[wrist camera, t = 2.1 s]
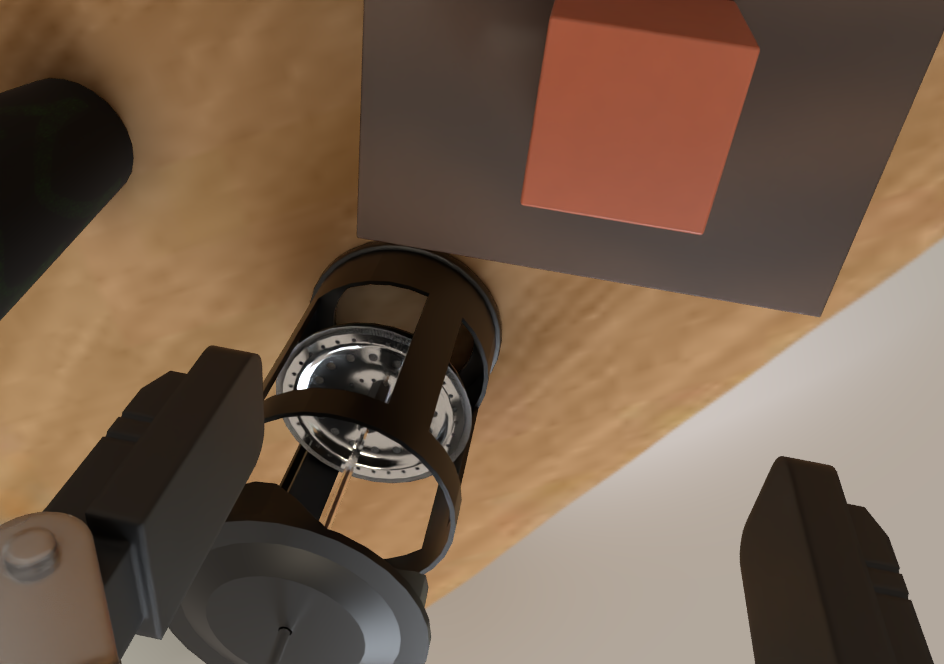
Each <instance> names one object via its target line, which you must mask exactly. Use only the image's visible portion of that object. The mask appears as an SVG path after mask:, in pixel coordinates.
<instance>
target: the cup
mask: <svg viewBox="0 0 944 664" xmlns="http://www.w3.org/2000/svg"><path fill="white" fill-rule="evenodd" d="M133 159H134V158H133V150H132V144H131V141H130V138H129V135H128V132H127V130H126V128H125V126H124V125H123V123H122V121H121V120H120V118H119V116H118V115H117V114H116V113H115V111H114V110H113V109H112V108H111V107H110V106H109V104H108V103H107V102H105V101H104V100H103V99H102V98H101V97H99V96H98V95H97V94H96V93H94V92H93V91H91V90H89V89H87V88H86V87H84V86H82V85H80V84H78V83H75V82H71V81H68V80H65V79H52V78H48V79H44V80H39V81H35V82H32V83H29V84H26V85H23V86H20V87H17V88H14V89H11V90H8V91H5V92H2V93H0V320H1V319H2V318H3V317H4V316H5V315H6V314H7V313H8V312H9V311H10V309H11V308H12V307H13V306H14V305H15V304H16V303H17V302H18V301H19V300H20V298H21V297H22V296H23V295H24V294H25V293H26V292H27V291H28V290H29V289H30V287H31V286H32V285H33V284H34V283H35V282H36V281H37V280H38V279H39V278H40V277H41V275H42V274H43V273H44V272H45V271H46V270H47V269H48V268H49V267H50V266H51V264H52V263H53V262H54V261H55V260H56V259H57V258H58V257H59V256H60V255H61V254H62V252H63V251H64V250H65V249H66V248H67V247H68V246H69V245H70V244H71V243H72V241H73V240H74V239H75V238H76V237H77V236H78V235H79V234H80V233H81V232H82V231H83V229H84V228H85V227H86V226H87V225H88V224H89V223H90V222H91V221H92V220H93V218H94V217H95V216H96V215H97V214H98V213H99V212H100V211H101V210H102V209H103V207H104V206H105V205H106V204H107V203H108V202H109V201H110V200H111V199H112V198H113V197H114V195H115V194H116V193H117V192H118V191H119V190H120V189H121V188H122V187H123V186H124V184H125V183H126V182H127V180H128V178H129V176H130V174H131V172H132V166H133Z"/></svg>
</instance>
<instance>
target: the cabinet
mask: <svg viewBox="0 0 944 664" xmlns="http://www.w3.org/2000/svg"><path fill="white" fill-rule="evenodd" d="M554 1H555V0H364V16H363V49H362V81H361V114H360V146H359V179H358V211H357V237H358V238H363V239H369V240H374V241H380V242H386V243H392V244H398V245H403V246H409V247H415V248H421V249H427V250H432V251H438V252H444V253H450V254H456V255H462V256H467V257H473V258H479V259H485V260H491V261H496V262H502V263H508V264H514V265H520V266H525V267H531V268H537V269H543V270H549V271H554V272H560V273H566V274H572V275H578V276H584V277H589V278H595V279H601V280H607V281H613V282H618V283H624V284H630V285H636V286H642V287H647V288H653V289H659V290H665V291H671V292H676V293H682V294H688V295H694V296H700V297H706V298H711V299H717V300H723V301H729V302H735V303H740V304H746V305H752V306H758V307H764V308H769V309H775V310H781V311H787V312H793V313H798V314H804V315H810V316H816V317H820V316H821V314H822V312H823V310H824V307H825V305H826V303H827V300H828V298H829V296H830V293H831V291H832V289H833V286H834V284H835V282H836V280H837V277H838V275H839V273H840V270H841V268H842V266H843V263H844V261H845V259H846V256H847V254H848V252H849V249H850V247H851V245H852V242H853V240H854V238H855V236H856V233H857V231H858V229H859V226H860V224H861V222H862V219H863V217H864V215H865V212H866V210H867V208H868V205H869V203H870V201H871V198H872V196H873V194H874V192H875V189H876V187H877V185H878V182H879V180H880V178H881V175H882V173H883V171H884V168H885V166H886V164H887V161H888V159H889V157H890V154H891V152H892V150H893V148H894V145H895V143H896V141H897V138H898V136H899V134H900V131H901V129H902V127H903V124H904V122H905V120H906V117H907V115H908V113H909V110H910V108H911V106H912V104H913V101H914V99H915V97H916V94H917V92H918V90H919V87H920V85H921V83H922V80H923V78H924V76H925V73H926V71H927V69H928V66H929V64H930V62H931V60H932V57H933V55H934V53H935V50H936V48H937V46H938V43H939V41H940V39H941V36H942V34H943V32H944V0H729V1H734V2H735V3H736V4H737V6H738V8H739V10H740V12H741V14H742V16H743V17H744V19H745V21H746V23H747V25H748V27H749V29H750V31H751V32H752V34H753V36H754V38H755V40H756V42H757V44H758V45H759V47H760V53H759V56H758V59H757V62H756V66H755V69H754V72H753V75H752V79H751V82H750V85H749V88H748V92H747V95H746V98H745V101H744V104H743V108H742V111H741V114H740V117H739V121H738V124H737V127H736V130H735V134H734V137H733V140H732V143H731V147H730V150H729V153H728V156H727V159H726V163H725V166H724V169H723V172H722V176H721V179H720V182H719V185H718V189H717V192H716V195H715V198H714V202H713V205H712V208H711V211H710V214H709V218H708V221H707V224H706V227H705V231H704V233H703V234H702V235H697V234H691V233H685V232H679V231H673V230H667V229H661V228H655V227H649V226H643V225H637V224H631V223H625V222H619V221H613V220H607V219H601V218H595V217H589V216H583V215H578V214H572V213H566V212H560V211H554V210H548V209H542V208H536V207H530V206H524V205H521V202H520V200H521V194H522V188H523V181H524V175H525V169H526V162H527V156H528V150H529V143H530V137H531V131H532V124H533V118H534V112H535V105H536V99H537V93H538V87H539V80H540V74H541V68H542V61H543V55H544V49H545V42H546V36H547V30H548V23H549V18H550V15H551V11H552V8H553V5H554Z"/></svg>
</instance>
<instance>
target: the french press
mask: <svg viewBox="0 0 944 664" xmlns="http://www.w3.org/2000/svg"><path fill="white" fill-rule="evenodd" d="M369 284H373V285H391V286H396V287H400V288H405V289H410V290H412V291H415V292H417V293H420V294H422V295H425V296H427V297H428V298H427V300H426V303H425V306H424V308H423V311H422V314H421V316H420V319H419V322H418V324H417V327H416V330H415V332H414V334H412V333H410V332H407V331H404V330H401V329H398V328H395V327H391V326H386V325H380V324H375V323H348V324H340V325H336V322H335V317H336V308H337V304H338V301H339V299H340V297H341V295H342V294H343V292H344V291H345V290H346V289H347V288H350V287H355V286H362V285H369ZM461 322H462V323H463V324H464V325H465V327H466V328H467V329H468V330H469V332H470V333H471V334H472V336H473V338H474V346H473V351H472V353H471V355H470V358H469V360H468V361H467V363H466V364H465V365H464V366H463V368H462V369H461V370H460V371H458V372H457V371H456V370H455V368H454V367H453V365H452V364H451V363H450V358H451V355H452V352H453V348H454V345H455V341H456V338H457V335H458V331H459V328H460V325H461ZM501 342H502V329H501V321H500V317H499V313H498V309H497V306H496V304H495V303H494V301H493V299H492V297H491V295H490V293H489V291H488V289H487V288H486V287H485V286H484V284H483V283H482V282H481V281H480V279H479V278H478V277H477V276H476V275H475V274H474V273H473V272H472V271H471V270H470V269H468V268H467V267H466V266H465V265H464V264H463V263H461V262H460V261H458V260H456V259H455V258H453V257H451V256H450V255H448V254H446V253H444V252H438V251H432V250H427V249H421V248H415V247H409V246H403V245H398V244H392V243H386V242H374V243H368V244H365V245H362V246H360V247H357V248H354V249H351V250H349V251H348V252H346V253H345V254H343V255H342V256H340V257H338V258H337V259H335V260H334V261H333V263H332V264H331V265H330V266H329V267H328V268H327V269H326V270H325V271H324V272H323V274H322V275H321V277H320V279H319V281H318V282H317V284H316V286H315V287H314V291H313V294H312V298H311V301H310V305H309V307H308V308H307V310H306V312H305V313H304V315H303V317H302V318H301V320H300V322H299V323H298V325H297V327H296V328H295V330H294V332H293V333H292V335H291V337H290V338H289V340H288V342H287V344H286V345H285V347H284V349H283V350H282V352H281V354H280V355H279V357H278V359H277V360H276V362H275V364H274V365H273V367H272V369H271V370H270V372H269V374H268V375H267V377H266V379H265V380H264V382H263V403H264V423H266V422H270V421H273V420H277V419H280V418H283V420H284V422H285V424H286V426H287V427H288V429H289V430H290V432H291V433H292V435H293V436H294V437H295V439H296V440H297V441H298V442H299V443H300V444H299V446H298V448H297V450H296V452H295V455H294V457H293V459H292V461H291V463H290V465H289V467H288V469H287V471H286V473H285V475H284V477H283V479H282V481H281V483H280V485H277V484H274V483H264V482H251V483H247V484H245V486H244V488H243V489H242V491H241V493H240V495H239V497H238V499H237V501H236V502H235V504H234V506H233V508H232V510H231V512H230V514H229V515H228V517H227V519H226V521H225V523H224V525H223V527H222V528H221V530H220V532H219V534H218V536H217V538H216V540H215V541H214V543H213V545H212V547H211V549H210V551H209V553H208V554H207V556H206V558H205V560H204V562H203V564H202V565H201V567H200V569H199V571H198V573H197V575H196V577H195V578H194V580H193V582H192V584H191V586H190V588H189V590H188V591H187V593H186V595H185V597H184V599H183V601H182V603H181V604H180V606H179V608H178V610H177V612H176V614H175V616H174V617H173V619H172V621H171V623H170V625H169V629H170V630H171V631H172V633H173V634H174V635H175V636H176V637H177V638H178V639H179V640H180V641H181V642H182V643H183V644H184V645H185V647H187V649H189V650H190V651H191V652H192V653H194V654H195V655H196V656H198V657H199V658H200V659H201V660H202V661H204V662H205V663H206V664H425V662H426V659H427V655H428V650H429V645H430V640H431V632H430V623H429V618H428V616H427V613H426V611H425V608H424V606H425V602H426V597H427V592H428V583H427V579H426V575H424V574H425V573H427V572H428V571H430V570H432V569H433V568H434V567H435V566H436V565H437V564H438V563H439V562H440V561H441V560H442V559H443V558H444V557H445V555H446V553H447V551H448V550H449V548H450V546H451V544H452V542H453V537H454V533H455V528H456V524H457V519H458V515H459V510H460V505H461V500H462V499H461V483H462V478H463V474H464V469H465V465H466V461H467V456H468V452H469V447H470V443H471V439H472V434H473V430H474V426H475V421H476V417H477V412H478V408H479V406H480V404H481V402H482V400H483V398H484V396H485V393H486V389H487V384H488V379H489V375H490V373H491V372H492V370H493V368H494V366H495V364H496V362H497V360H498V356H499V351H500V346H501ZM276 378H277V380H276ZM275 380H276V395H275V396H272V397H270V398H268V399H266V400H264V399H265V397H266V396H267V394H268V392H269V391H270V389H271V387H272V385H273V384H274V382H275ZM339 471H340V472H343V474H342V476H341V479H340V481H339V484H338V486H337V489H336V491H335V494H334V496H333V499H332V501H331V504H330V506H329V509H328V511H327V514H326V516H325V519H324V521H323V524H322V523H321V522H319V519H320V516H321V514H322V511H323V509H324V506H325V504H326V502H327V499H328V497H329V494H330V492H331V489H332V487H333V485H334V482H335V480H336V477H337V475H338V472H339ZM431 475H433V476H434V477H435V479H436V481H437V482H438V484H439V485H438V488H437V492H436V496H435V500H434V504H433V508H432V512H431V515H430V519H429V523H428V527H427V531H426V535H425V538H424V542H423V546H422V549H420V550H417V551H415V552H412V553H410V554H407V555H404V556H399V557H394V558H389V559H382V558H381V557H379V556H378V555H377V554H375V553H374V552H372V551H371V550H370V549H368V548H367V547H365V546H363V545H361V544H359V543H357V542H355V541H354V540H352V539H350V538H348V537H346V536H344V535H342V534H340V533H337V532H335V531H332V530H331V528H332V525H333V523H334V520H335V517H336V515H337V512H338V510H339V507H340V505H341V502H342V499H343V497H344V494H345V492H346V489H347V487H348V484H349V481H350V479H351V476H353V477H356V478H360V479H365V480H369V481H374V482H385V483H400V482H411V481H415V480H419V479H424V478H427V477H429V476H431Z"/></svg>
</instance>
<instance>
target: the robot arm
mask: <svg viewBox="0 0 944 664" xmlns="http://www.w3.org/2000/svg"><path fill="white" fill-rule="evenodd" d="M263 437H264V403H263V377H262V362H261V358H260V356H259V355H258V354H255V353H250V352H244V351H239V350H234V349H229V348H223V347H218V346H209V347H208V348H206V349H205V351H204V352H203V353H202V355H201V356H200V357H199V359H198V360H197V361H196V363H195V364H194V365H193V367H192V368H191V369H190V371H189V372H188V373H187V374H185V373H180V372H174V371H169V372H168V373H166V374H164V375H163V376H161V377H159V378H158V379H156V380H155V381H153V382H151V383H150V384H148V385H146V386H145V387H143V388H142V389H141V390H140V391H139V392H138V393H137V395H136V396H135V397H134V398H133V400H132V401H131V402H130V403H129V405H128V406H127V407H126V408H125V410H124V411H123V412H122V416H121V417H118V418H117V420H116V421H115V422H114V423H113V425H112V426H111V427H110V428H109V430H108V431H107V435H106V437H102V438H101V440H100V441H99V442H98V443H97V445H96V446H95V447H94V448H93V450H92V451H91V452H90V453H89V455H88V456H87V457H86V458H85V460H84V461H83V462H82V463H81V465H80V466H79V467H78V468H77V470H76V471H75V472H74V473H73V475H72V476H71V477H70V478H69V480H68V481H67V482H66V483H65V485H64V486H63V487H62V488H61V490H60V491H59V492H58V493H57V495H56V496H55V497H54V498H53V500H52V501H51V502H50V503H49V505H48V506H47V507H46V508H45V509H44V510H43V512H37V513H32V514H27V515H24V516H21V517H17V518H15V519H12V520H10V521H8V522H6V523H4V524H2V525H0V664H121V658H122V656H123V655H124V653H125V651H126V649H127V648H128V646H129V644H130V642H131V641H132V639H133V637H134V635H135V634H137V635H141V636H146V637H151V638H155V639H160V640H161V639H162V638H163V636H164V634H165V632H166V630H167V628H168V627H169V625H170V623H171V621H172V619H173V617H174V616H175V614H176V612H177V610H178V608H179V606H180V604H181V603H182V601H183V599H184V597H185V595H186V593H187V591H188V590H189V588H190V586H191V584H192V582H193V580H194V578H195V577H196V575H197V573H198V571H199V569H200V567H201V565H202V564H203V562H204V560H205V558H206V556H207V554H208V553H209V551H210V549H211V547H212V545H213V543H214V541H215V540H216V538H217V536H218V534H219V532H220V530H221V528H222V527H223V525H224V523H225V521H226V519H227V517H228V515H229V514H230V512H231V510H232V508H233V506H234V504H235V502H236V501H237V499H238V497H239V495H240V493H241V491H242V489H243V488H244V486H245V484H246V482H247V480H248V478H249V476H250V475H251V473H252V471H253V469H254V467H255V465H256V463H257V460H258V458H259V455H260V451H261V448H262V443H263ZM740 567H741V574H742V580H743V587H744V593H745V599H746V606H747V613H748V619H749V626H750V632H751V639H752V645H753V652H754V658H755V664H934V663H933V660H932V657H931V654H930V652H929V649H928V646H927V643H926V640H925V637H924V635H923V632H922V629H921V626H920V624H919V621H918V618H917V615H916V612H915V609H914V607H913V604H912V601H911V600H908V594H909V593H908V590H907V587H906V584H905V582H904V579H903V576H902V574H899V569H900V568H899V565H898V562H897V559H896V556H895V553H894V551H893V548H892V546H891V542H890V540H889V537H888V536H887V535H886V533H885V532H884V531H883V529H882V528H881V527H880V526H879V524H878V523H877V522H876V521H875V519H874V518H873V517H872V516H871V514H870V513H869V512H868V511H867V510H866V508H865V507H861V506H856V505H851V504H847V502H846V499H845V496H844V492H843V490H842V486H841V483H840V480H839V477H838V474H837V471H836V470H835V468H834V467H833V466H830V465H826V464H821V463H816V462H810V461H805V460H800V459H795V458H789V457H784V456H780V457H778V458H777V459H776V460H775V462H774V463H773V465H772V467H771V469H770V472H769V474H768V476H767V478H766V480H765V483H764V485H763V487H762V489H761V491H760V493H759V496H758V498H757V500H756V502H755V504H754V506H753V508H752V511H751V513H750V515H749V517H748V519H747V522H746V524H745V527H744V530H743V534H742V538H741V546H740Z"/></svg>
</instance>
